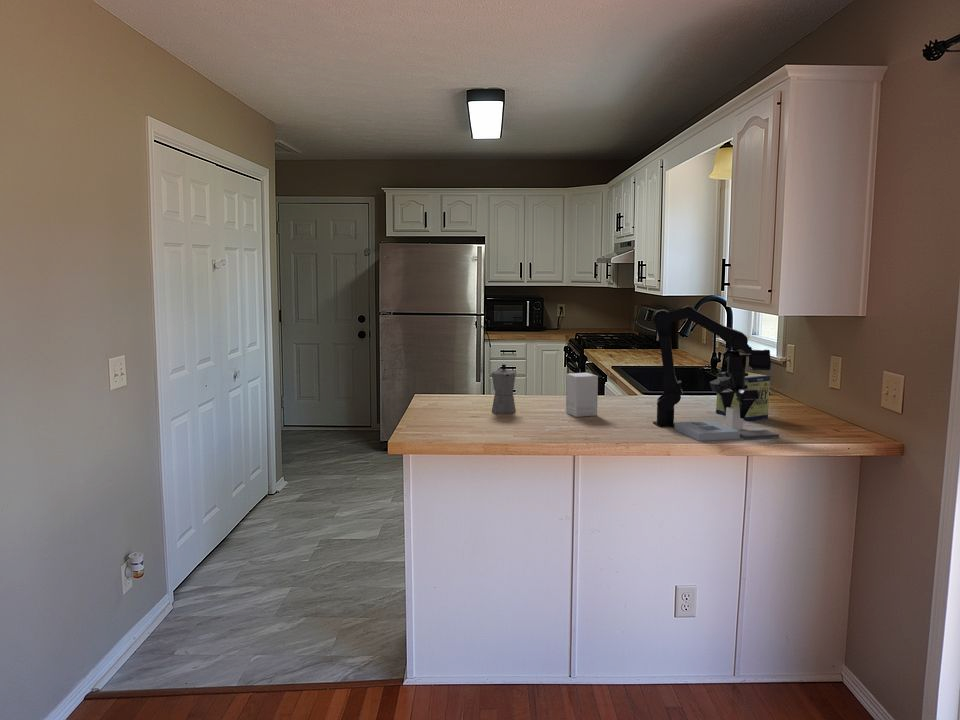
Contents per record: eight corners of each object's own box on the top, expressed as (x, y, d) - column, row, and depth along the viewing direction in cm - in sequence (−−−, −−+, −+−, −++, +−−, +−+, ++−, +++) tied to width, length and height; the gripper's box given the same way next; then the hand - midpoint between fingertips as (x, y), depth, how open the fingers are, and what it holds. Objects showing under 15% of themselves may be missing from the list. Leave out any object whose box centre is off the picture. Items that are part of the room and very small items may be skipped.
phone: (733, 434, 223) (733, 431, 223) (766, 432, 225) (766, 429, 225) (744, 439, 217) (744, 436, 216) (778, 437, 219) (779, 434, 219)
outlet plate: (674, 429, 230) (674, 422, 230) (712, 427, 233) (713, 420, 233) (698, 441, 215) (699, 433, 215) (739, 438, 218) (739, 430, 217)
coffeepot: (520, 414, 255) (520, 366, 253) (495, 415, 253) (495, 367, 251) (510, 406, 270) (510, 361, 268) (486, 407, 268) (486, 361, 266)
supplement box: (598, 415, 252) (598, 375, 251) (575, 417, 250) (576, 376, 248) (586, 411, 261) (587, 372, 259) (565, 412, 258) (565, 373, 256)
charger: (725, 427, 233) (726, 407, 232) (736, 427, 234) (737, 406, 233) (731, 430, 229) (732, 409, 228) (742, 429, 230) (743, 409, 229)
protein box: (747, 421, 242) (749, 377, 240) (715, 413, 256) (716, 372, 254) (769, 418, 247) (771, 375, 245) (736, 410, 261) (737, 370, 259)
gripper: (699, 366, 236) (698, 411, 238) (729, 374, 218) (727, 422, 220) (729, 365, 239) (727, 409, 241) (761, 373, 220) (759, 421, 222)
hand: (734, 415), depth 231 cm, fingers open, 9 cm apart
